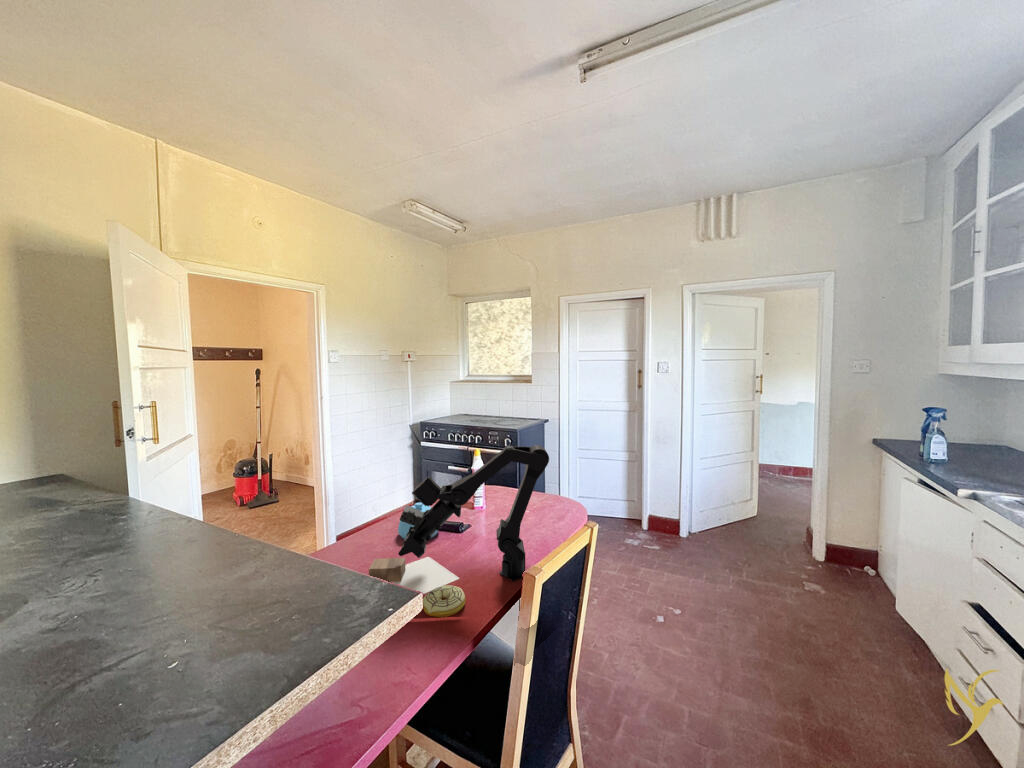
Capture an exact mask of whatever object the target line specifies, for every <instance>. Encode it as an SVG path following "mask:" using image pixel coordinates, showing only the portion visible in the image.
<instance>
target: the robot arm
mask: <svg viewBox="0 0 1024 768" xmlns="http://www.w3.org/2000/svg"><path fill="white" fill-rule="evenodd" d="M511 462H512V463H517V464H518V463H519V464H523V465H525V467H524V473H523V477H522V480H521V482H520V484H519V488H518V490H517V493H516V496H515V499H514V501H513V504H512V505H511V508H510V512H509V515H508V517H507V518H506V519H505V520H504V519H502V518H501V519H500V523H499V525H498V528H497V529H496V540H497V547H498V549H499V551H500V552H501V553H503V554H502V561H501V570H500V571H499V575H501V576H503V577H504V578H506V579H508V580H509V581H511V582H516V581H519V580H520V579H523V578H522V574H523V572H524V571H525V570H526V552H525V547H524V541H523V539H521V538H520V533H521V532H520V531H521V526H522V525H521V524H522V522H523V519H524V516H525V514H526V511H527V508H528V505H529V503H530V500H531V497H532V494H533V492H534V489H535V486H536V483H537V481H538V479H539V478H540V477H541V475H542V474H544V472H545V469H546V468H547V467H548V465H549V462H550V455H549V453H548V451H547V450H546V449H545V448H544V447H543V446H542V445H541V444H534V445H532V446H512V445H506V446H505V447H503V449H502V450H501V451H500V452H498V453H497V454H496V455H495V456H494V457H492V458H491V459H489V460H488V461H487V462H486V463H485V464H483V465H482V466H480V467H479V468H478V469H477V470H475V471H474V472H473V473H471V474H469V475H467V476H464V477H462V478H460V479H458V480H457V481H456V480H455V482H454V483H453V484H447V485H442V486H441V487H440V486H439V485H438V484H437V483H436V482H435V481H434V480H433V478H432V477H431V476H429V475H428V476H427V477H426V478H424V480H423V481H420V483H419V484H418V485H416V487H414V489H413V491H412V492H411V495H412V496H414V497H415V499H416V500H418V501H419V503H422V504H423V505H425V506H430V507H431V509H430V510H429V509H428V510H426V511H425V512H421V511H420V510H418V509H416V508H413V507H411V506H412V505H411V506H410V505H405V507H404V509H403V510H402V512H401V515H400V517H399V522H400V521H402V522H405V523H408V524H411V525H414V526H413V527H410V529H409V532H408V533H407V535H406V538H405V539H403V540H404V541H403V542H402V543H403V545H402V546H401V548H400V549H399V551H398V553H397V555H398V556H400V557H402V556H405V555H408V554H411V553H412V554H413V555H415V557H417V558H419V559H420V558H421V557H423V555H424V554H425V552H426V549H427V542H429V541H430V540H431V539H432V538H431V536H432V535H433V534H434V533H435V532H436V531H438V532H439V531H440V530H441V529H442V525H444V524H445V523H446V522H447V521H448V519H450V518H451V517H452V516H453V515H455V516H457V518H461V515H462V514H461V513H462V506H464V505H466V504H467V503H468V502H469V501H470V499H471V498H472V497H473V496H474V495H475V494H476V492H477V491H478V490H479V488H480V487H482V485H483V484H485V483H486V482H487V481H488V480H490V479H491V478H493V476H495V475H496V474H497V473H499V472H500V471H501V470H503V468H505V467H506V466H507V465H509V464H510V463H511ZM437 500H438V501H437ZM425 539H426V540H425Z"/></svg>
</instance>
